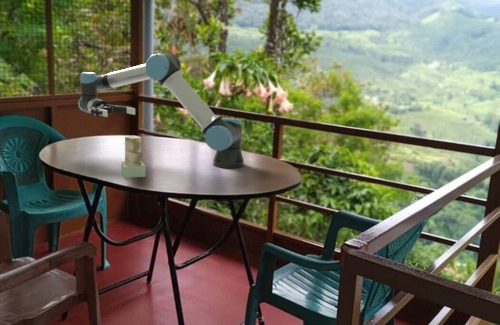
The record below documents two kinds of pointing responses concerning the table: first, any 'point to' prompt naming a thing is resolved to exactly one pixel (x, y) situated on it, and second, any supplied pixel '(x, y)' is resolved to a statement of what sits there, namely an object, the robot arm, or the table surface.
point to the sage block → (133, 170)
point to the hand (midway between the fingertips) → (120, 112)
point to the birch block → (133, 150)
